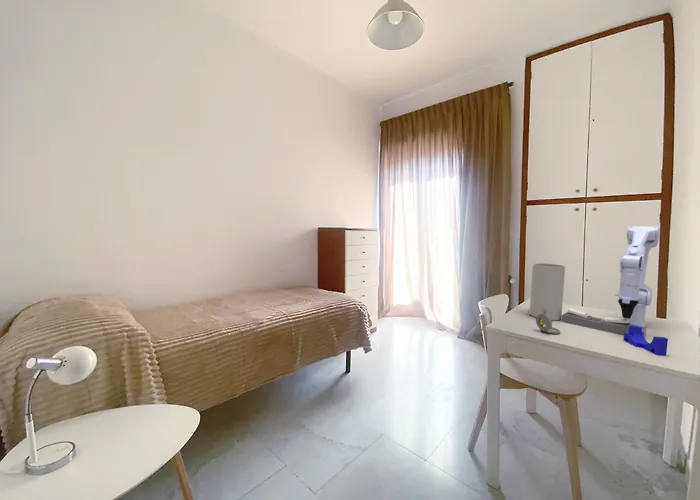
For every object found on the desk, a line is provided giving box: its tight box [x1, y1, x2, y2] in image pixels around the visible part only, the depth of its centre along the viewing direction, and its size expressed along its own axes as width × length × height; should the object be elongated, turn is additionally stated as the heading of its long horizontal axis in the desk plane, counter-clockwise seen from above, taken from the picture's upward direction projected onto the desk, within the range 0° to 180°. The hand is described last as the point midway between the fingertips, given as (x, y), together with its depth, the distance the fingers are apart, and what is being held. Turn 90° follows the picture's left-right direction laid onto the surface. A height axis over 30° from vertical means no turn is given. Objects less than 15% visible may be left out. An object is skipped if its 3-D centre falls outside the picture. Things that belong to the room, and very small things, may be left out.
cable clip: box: [622, 326, 669, 356], centre depth 101 cm, size 12×4×6 cm, turn 169°
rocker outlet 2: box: [604, 316, 629, 324], centre depth 117 cm, size 4×7×2 cm, turn 40°
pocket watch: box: [535, 308, 561, 335], centre depth 115 cm, size 8×8×10 cm
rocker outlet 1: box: [567, 307, 591, 318], centre depth 126 cm, size 4×7×2 cm, turn 40°
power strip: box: [561, 311, 647, 338], centre depth 121 cm, size 8×26×4 cm, turn 40°
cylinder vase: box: [529, 262, 566, 322], centre depth 134 cm, size 12×12×25 cm
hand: (626, 317), depth 114 cm, fingers closed
